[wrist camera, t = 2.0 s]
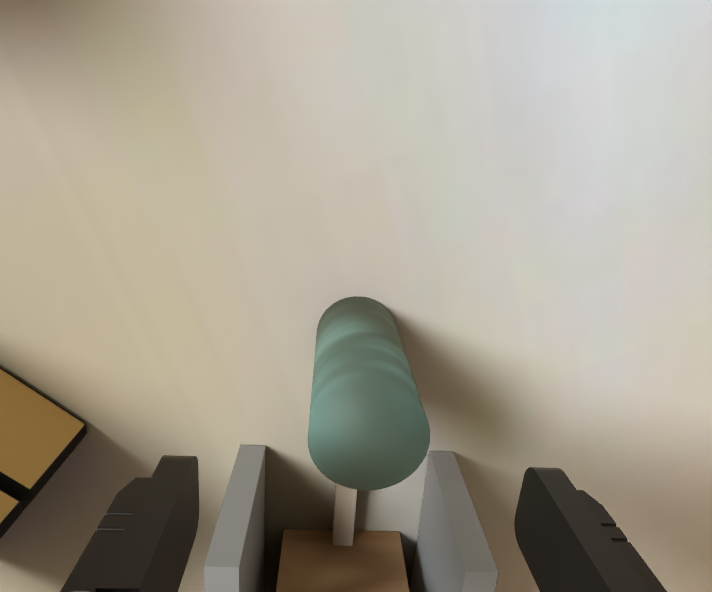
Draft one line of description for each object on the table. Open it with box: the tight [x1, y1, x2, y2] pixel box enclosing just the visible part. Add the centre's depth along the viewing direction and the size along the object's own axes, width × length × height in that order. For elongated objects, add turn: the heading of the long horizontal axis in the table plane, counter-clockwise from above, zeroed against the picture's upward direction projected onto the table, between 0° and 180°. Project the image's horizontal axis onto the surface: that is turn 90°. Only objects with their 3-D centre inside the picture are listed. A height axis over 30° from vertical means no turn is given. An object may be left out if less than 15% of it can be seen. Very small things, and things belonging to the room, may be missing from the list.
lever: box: [276, 297, 430, 592], centre depth 21 cm, size 6×19×8 cm, turn 176°
